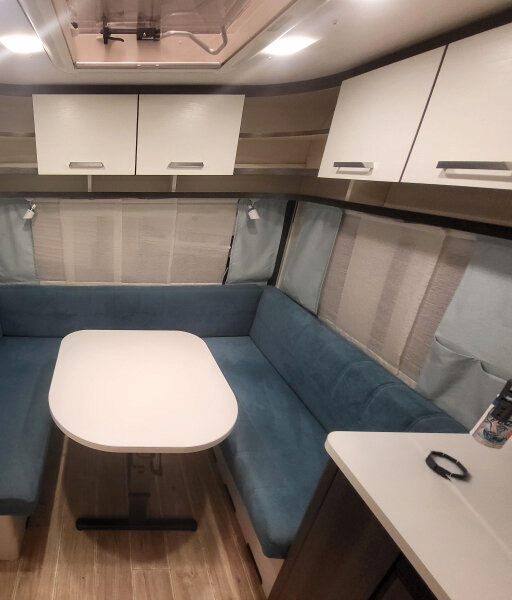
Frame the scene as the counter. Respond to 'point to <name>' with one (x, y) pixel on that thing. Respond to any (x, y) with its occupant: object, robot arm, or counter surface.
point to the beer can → (492, 429)
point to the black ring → (441, 470)
